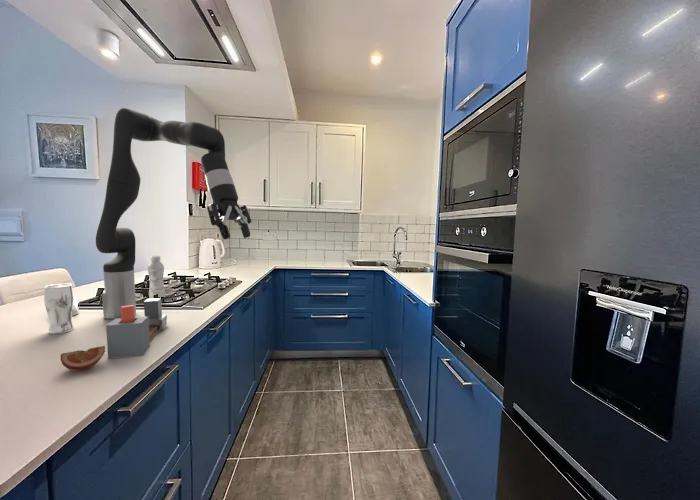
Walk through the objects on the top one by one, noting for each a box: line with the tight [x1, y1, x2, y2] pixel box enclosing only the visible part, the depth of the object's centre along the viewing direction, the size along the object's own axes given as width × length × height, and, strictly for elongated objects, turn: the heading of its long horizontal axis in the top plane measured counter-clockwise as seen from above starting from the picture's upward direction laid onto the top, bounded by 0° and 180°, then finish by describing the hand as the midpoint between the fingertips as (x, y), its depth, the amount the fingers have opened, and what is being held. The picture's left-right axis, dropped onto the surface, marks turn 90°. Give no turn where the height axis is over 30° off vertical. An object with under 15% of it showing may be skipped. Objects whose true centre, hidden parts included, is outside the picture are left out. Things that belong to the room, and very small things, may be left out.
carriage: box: [143, 298, 168, 331], centre depth 105 cm, size 6×6×10 cm
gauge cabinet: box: [105, 316, 151, 359], centre depth 87 cm, size 8×6×9 cm
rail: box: [149, 325, 161, 343], centre depth 100 cm, size 4×19×2 cm, turn 17°
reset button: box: [121, 305, 136, 323], centre depth 86 cm, size 3×3×7 cm
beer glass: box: [43, 283, 75, 335], centre depth 102 cm, size 7×7×15 cm
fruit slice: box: [59, 345, 106, 371], centre depth 77 cm, size 8×7×5 cm
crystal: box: [72, 292, 80, 317], centre depth 125 cm, size 7×7×24 cm
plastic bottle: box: [147, 255, 166, 299], centre depth 143 cm, size 6×7×20 cm
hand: (237, 237), depth 95 cm, fingers open, 8 cm apart
